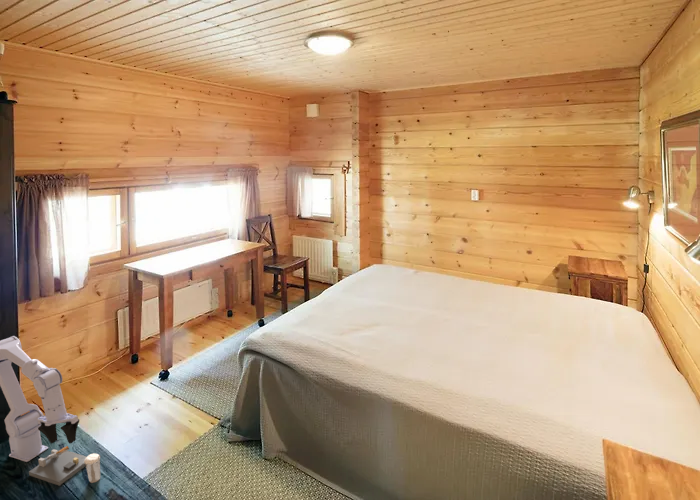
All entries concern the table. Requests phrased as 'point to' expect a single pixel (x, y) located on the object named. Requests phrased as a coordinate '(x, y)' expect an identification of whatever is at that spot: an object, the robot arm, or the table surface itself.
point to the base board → (58, 467)
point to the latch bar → (57, 453)
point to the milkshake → (93, 467)
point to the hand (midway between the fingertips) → (63, 441)
